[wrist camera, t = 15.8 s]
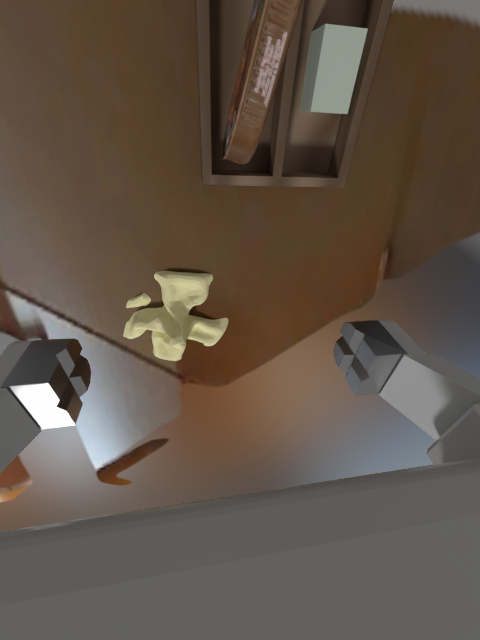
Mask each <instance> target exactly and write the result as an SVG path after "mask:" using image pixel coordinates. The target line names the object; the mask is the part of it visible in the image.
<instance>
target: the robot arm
mask: <svg viewBox="0 0 480 640" xmlns="http://www.w3.org/2000/svg"><path fill="white" fill-rule="evenodd" d="M340 333H341V334H342V337H341V338H340V339H338V340H337V341H336V343H335V347H334V358H335V361H336V363H337V365H338V367H339V368H340V369H341V370H342V371H344V372H346V378H345V380H346V381H347V383H348V385H349V386H350V388H351V390H352V392H353V393H354V395H368V394H379V395H380V396H381V397H382V398H384V399H385V400H386V401H387V402H389V403H390V404H391V405H392V406H394V407H395V408H396V409H398V410H399V411H400V412H401V413H402V414H404V415H405V416H406V417H408V418H409V419H410V420H411V421H412V422H414V423H415V424H416V425H417V426H419V427H420V428H421V429H423V430H424V431H425V432H426V433H427V434H429V435H430V436H431V437H433V438H434V439H435V440H436V442H435V443H433V444H432V445H431V446H430V447H429V448H428V450H427V455H428V457H429V458H430V460H431V461H432V462H433V464H434V465H428V466H422V467H415V468H408V469H402V470H396V471H390V472H383V473H376V474H370V475H363V476H357V477H350V478H344V479H338V480H331V481H325V482H318V483H312V484H305V485H300V486H292V487H286V488H279V489H273V490H266V491H260V492H253V493H247V494H240V495H234V496H228V497H221V498H215V499H209V500H202V501H195V502H189V503H182V504H176V505H169V506H163V507H156V508H151V509H144V510H138V511H131V512H124V513H118V514H111V515H105V516H99V517H92V518H86V519H79V520H73V521H66V522H61V523H54V524H47V525H41V526H34V527H27V528H22V529H15V530H8V531H2V532H0V640H480V378H479V377H477V376H475V375H473V374H471V373H469V372H467V371H465V370H463V369H461V368H459V367H456V366H455V365H453V364H451V363H449V362H447V361H445V360H442V359H441V358H438V357H436V356H434V355H432V354H430V353H424V352H423V351H422V350H421V349H420V348H419V347H418V346H417V345H416V344H415V343H414V342H413V341H412V340H411V339H410V338H409V337H408V335H407V334H406V333H405V332H404V331H403V330H402V329H401V328H400V327H399V326H398V325H397V324H396V323H395V322H394V321H393V320H390V319H380V320H373V321H372V320H370V321H356V322H345V323H344V324H343V325H342V328H341V330H340ZM81 350H82V347H81V345H80V343H79V341H78V340H76V339H51V340H35V341H15V342H13V343H11V344H9V345H8V346H7V348H6V349H5V351H4V352H3V353H2V355H1V356H0V473H1V472H2V471H3V470H4V469H5V468H6V467H7V466H8V465H9V464H10V463H11V462H12V461H13V460H14V459H15V458H16V456H17V455H18V454H19V453H20V452H21V451H22V450H23V449H24V448H25V447H26V446H27V445H28V444H29V443H30V442H31V441H32V440H33V439H34V438H35V437H36V436H37V435H38V434H39V433H40V432H41V430H40V429H48V428H56V427H63V426H70V425H75V424H76V421H77V418H78V415H79V413H80V410H81V407H82V404H83V403H82V401H81V400H80V398H79V397H80V396H82V395H83V394H84V393H85V392H86V391H87V390H88V387H89V384H90V378H91V370H90V365H89V363H88V360H87V359H86V358H84V357H83V356H81V355H80V352H81Z"/></svg>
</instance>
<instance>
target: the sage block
mask: <svg viewBox="0 0 480 640" xmlns="http://www.w3.org/2000/svg"><path fill="white" fill-rule="evenodd" d="M367 30H368V29H367V28H358V27H350V26H341V25H333V24H324V25H322V26H321V27H319V28H317V29H316V30H314V31H312V32H311V37H310V44H309V51H308V57H307V64H306V71H305V77H304V84H303V91H302V97H301V104H300V111H306V112H321V113H337V114H348V110H349V105H350V101H351V97H352V93H353V89H354V85H355V80H356V76H357V72H358V68H359V64H360V60H361V55H362V51H363V47H364V43H365V39H366V35H367Z"/></svg>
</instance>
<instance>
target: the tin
mask: <svg viewBox="0 0 480 640" xmlns="http://www.w3.org/2000/svg"><path fill="white" fill-rule="evenodd" d="M302 1H303V0H254V3H253V7H252V11H251V16H250V20H249V24H248V29H247V33H246V37H245V42H244V46H243V51H242V55H241V59H240V64H239V68H238V73H237V77H236V81H235V86H234V90H233V94H232V99H231V103H230V108H229V112H228V117H227V122H226V127H225V133H224V140H223V147H222V159H227V160H230V161H233V162H236V163H239V164H246V163H248V162H249V161H250V160H251V158H252V156H253V154H254V153H255V150H256V148H257V146H258V143H259V141H260V138H261V135H262V132H263V129H264V126H265V123H266V120H267V117H268V114H269V111H270V107H271V104H272V101H273V98H274V94H275V91H276V88H277V85H278V81H279V78H280V75H281V72H282V68H283V65H284V62H285V58H286V55H287V52H288V48H289V45H290V41H291V38H292V35H293V31H294V28H295V25H296V21H297V18H298V14H299V11H300V8H301V4H302Z"/></svg>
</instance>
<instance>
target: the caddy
mask: <svg viewBox="0 0 480 640" xmlns="http://www.w3.org/2000/svg"><path fill="white" fill-rule="evenodd" d="M393 1H394V0H303V1H302V4H301V8H300V11H299V14H298V18H297V21H296V25H295V28H294V31H293V35H292V38H291V41H290V45H289V48H288V52H287V55H286V58H285V62H284V65H283V68H282V72H281V75H280V78H279V81H278V85H277V88H276V91H275V94H274V98H273V101H272V104H271V107H270V111H269V114H268V117H267V120H266V123H265V126H264V129H263V132H262V135H261V138H260V141H259V143H258V146H257V148H256V150H255V153H254V154H253V156H252V158H251V160H250V161H249V162H248V163H246V164H239V163H236V162H233V161H230V160H227V159H222V147H223V140H224V133H225V127H226V122H227V117H228V112H229V108H230V103H231V99H232V94H233V90H234V86H235V81H236V77H237V73H238V68H239V64H240V59H241V55H242V51H243V46H244V42H245V37H246V33H247V29H248V24H249V20H250V16H251V11H252V7H253V3H254V0H195V9H196V36H197V64H198V91H199V118H200V146H201V173H202V182H203V185H244V186H292V187H340V188H343V187H344V183H345V180H346V176H347V172H348V168H349V165H350V161H351V157H352V154H353V150H354V146H355V142H356V139H357V135H358V131H359V128H360V124H361V120H362V116H363V113H364V109H365V105H366V102H367V98H368V94H369V90H370V87H371V83H372V79H373V76H374V72H375V68H376V64H377V61H378V57H379V53H380V50H381V46H382V42H383V38H384V35H385V31H386V27H387V24H388V20H389V16H390V12H391V9H392V5H393ZM324 24H333V25H341V26H350V27H358V28H367V29H368V30H367V35H366V39H365V43H364V47H363V51H362V55H361V60H360V64H359V68H358V72H357V76H356V80H355V85H354V89H353V93H352V97H351V101H350V105H349V110H348V114H337V113H321V112H306V111H300V104H301V97H302V91H303V84H304V77H305V71H306V64H307V57H308V51H309V44H310V37H311V32H312V31H314V30H316V29H317V28H319V27H321V26H322V25H324Z"/></svg>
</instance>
